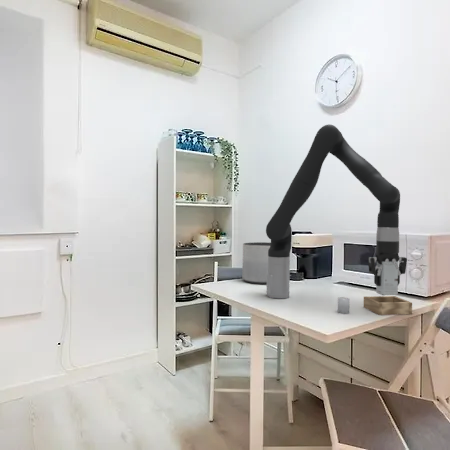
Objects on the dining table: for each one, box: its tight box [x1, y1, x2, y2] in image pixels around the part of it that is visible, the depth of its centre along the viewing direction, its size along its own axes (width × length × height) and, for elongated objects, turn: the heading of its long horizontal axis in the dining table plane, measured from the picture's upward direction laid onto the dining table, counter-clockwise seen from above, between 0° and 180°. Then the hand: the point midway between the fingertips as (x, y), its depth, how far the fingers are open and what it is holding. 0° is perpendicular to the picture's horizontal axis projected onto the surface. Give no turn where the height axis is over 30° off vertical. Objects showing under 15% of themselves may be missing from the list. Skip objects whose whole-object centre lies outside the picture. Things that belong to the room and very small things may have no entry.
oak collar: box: [363, 295, 413, 316], centre depth 123 cm, size 12×10×4 cm
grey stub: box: [337, 296, 350, 315], centre depth 120 cm, size 4×4×5 cm
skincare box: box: [375, 261, 399, 296], centre depth 123 cm, size 6×4×12 cm
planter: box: [241, 241, 271, 285], centre depth 180 cm, size 23×23×20 cm
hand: (386, 285), depth 123 cm, fingers closed on skincare box, 6 cm apart
